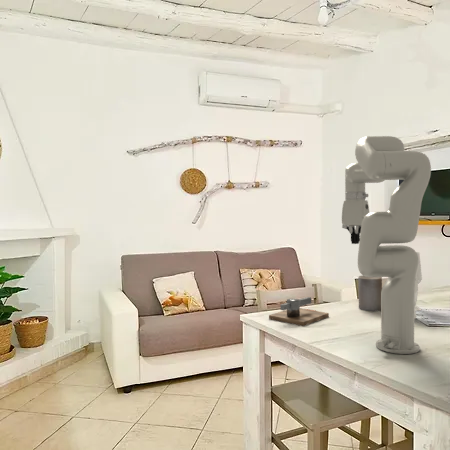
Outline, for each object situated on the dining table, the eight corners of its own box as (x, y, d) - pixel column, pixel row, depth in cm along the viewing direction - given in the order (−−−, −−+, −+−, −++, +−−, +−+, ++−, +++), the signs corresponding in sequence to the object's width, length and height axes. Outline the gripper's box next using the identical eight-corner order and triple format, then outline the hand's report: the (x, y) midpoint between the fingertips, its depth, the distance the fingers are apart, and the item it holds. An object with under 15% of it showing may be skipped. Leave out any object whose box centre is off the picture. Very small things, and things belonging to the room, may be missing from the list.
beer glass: (419, 320, 170) (419, 281, 170) (400, 319, 172) (400, 280, 171) (415, 315, 177) (415, 278, 176) (397, 315, 178) (397, 277, 178)
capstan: (287, 319, 166) (287, 303, 166) (276, 317, 170) (276, 301, 170) (314, 311, 179) (314, 296, 179) (304, 309, 182) (304, 294, 182)
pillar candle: (374, 305, 196) (373, 271, 196) (387, 310, 187) (386, 274, 186) (354, 307, 194) (353, 273, 193) (366, 312, 184) (365, 276, 184)
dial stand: (303, 325, 164) (303, 321, 164) (269, 318, 175) (268, 314, 175) (329, 316, 177) (329, 312, 177) (295, 310, 188) (295, 307, 188)
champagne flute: (401, 307, 191) (401, 252, 190) (413, 306, 193) (413, 251, 192) (412, 311, 184) (412, 253, 184) (425, 309, 187) (425, 252, 186)
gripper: (377, 196, 172) (377, 243, 173) (342, 197, 183) (342, 242, 183) (369, 196, 167) (369, 245, 168) (333, 197, 177) (333, 243, 178)
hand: (355, 243), depth 175 cm, fingers closed
